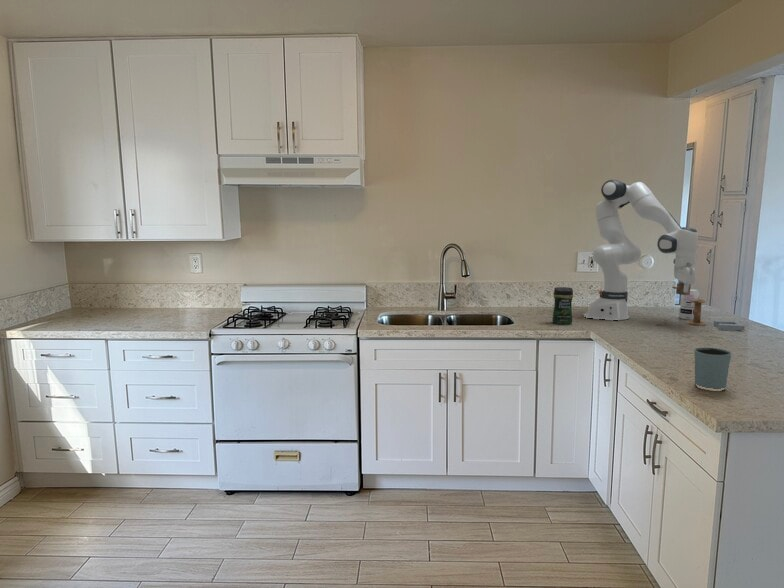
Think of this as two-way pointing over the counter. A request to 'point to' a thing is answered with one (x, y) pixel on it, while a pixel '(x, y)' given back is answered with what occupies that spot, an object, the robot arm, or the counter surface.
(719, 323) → the notch board
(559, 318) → the coffee jar
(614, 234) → the robot arm
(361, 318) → the counter surface
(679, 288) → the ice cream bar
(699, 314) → the bobbin
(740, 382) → the counter surface
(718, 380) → the teal cup
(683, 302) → the supplement can
